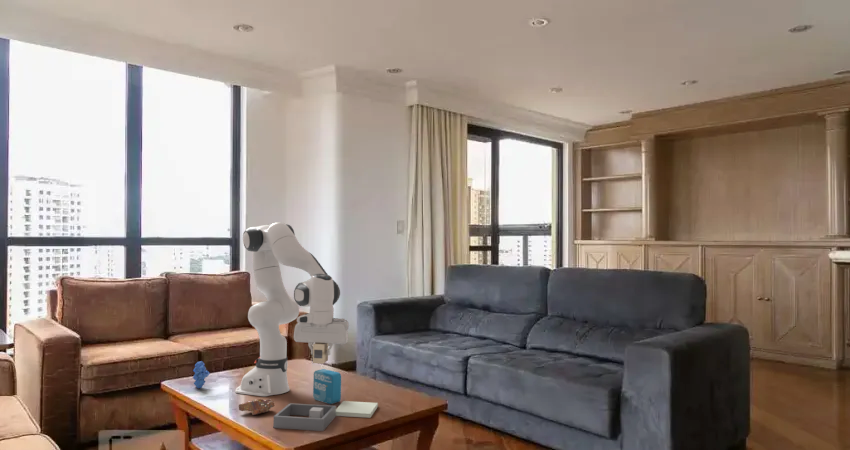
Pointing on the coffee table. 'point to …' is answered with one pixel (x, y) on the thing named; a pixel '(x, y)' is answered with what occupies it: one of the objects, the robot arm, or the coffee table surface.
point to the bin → (303, 423)
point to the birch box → (320, 353)
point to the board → (356, 409)
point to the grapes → (200, 374)
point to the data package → (327, 386)
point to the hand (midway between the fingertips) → (320, 354)
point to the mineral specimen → (257, 406)
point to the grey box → (316, 412)
